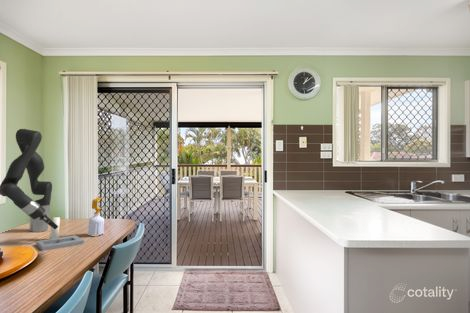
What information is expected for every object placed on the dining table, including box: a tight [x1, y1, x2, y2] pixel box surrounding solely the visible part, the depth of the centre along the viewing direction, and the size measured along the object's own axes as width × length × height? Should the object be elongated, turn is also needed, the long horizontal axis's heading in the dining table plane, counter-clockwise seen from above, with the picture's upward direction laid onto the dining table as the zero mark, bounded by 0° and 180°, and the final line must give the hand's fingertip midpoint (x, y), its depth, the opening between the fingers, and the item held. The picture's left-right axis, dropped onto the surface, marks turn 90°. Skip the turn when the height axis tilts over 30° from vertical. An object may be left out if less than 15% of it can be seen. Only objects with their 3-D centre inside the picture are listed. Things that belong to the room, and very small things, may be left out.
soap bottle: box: [87, 197, 105, 236], centre depth 171 cm, size 9×9×25 cm
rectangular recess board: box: [35, 235, 85, 252], centre depth 149 cm, size 20×14×2 cm
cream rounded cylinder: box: [49, 216, 61, 239], centre depth 157 cm, size 4×4×13 cm
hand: (54, 226), depth 157 cm, fingers open, 8 cm apart
